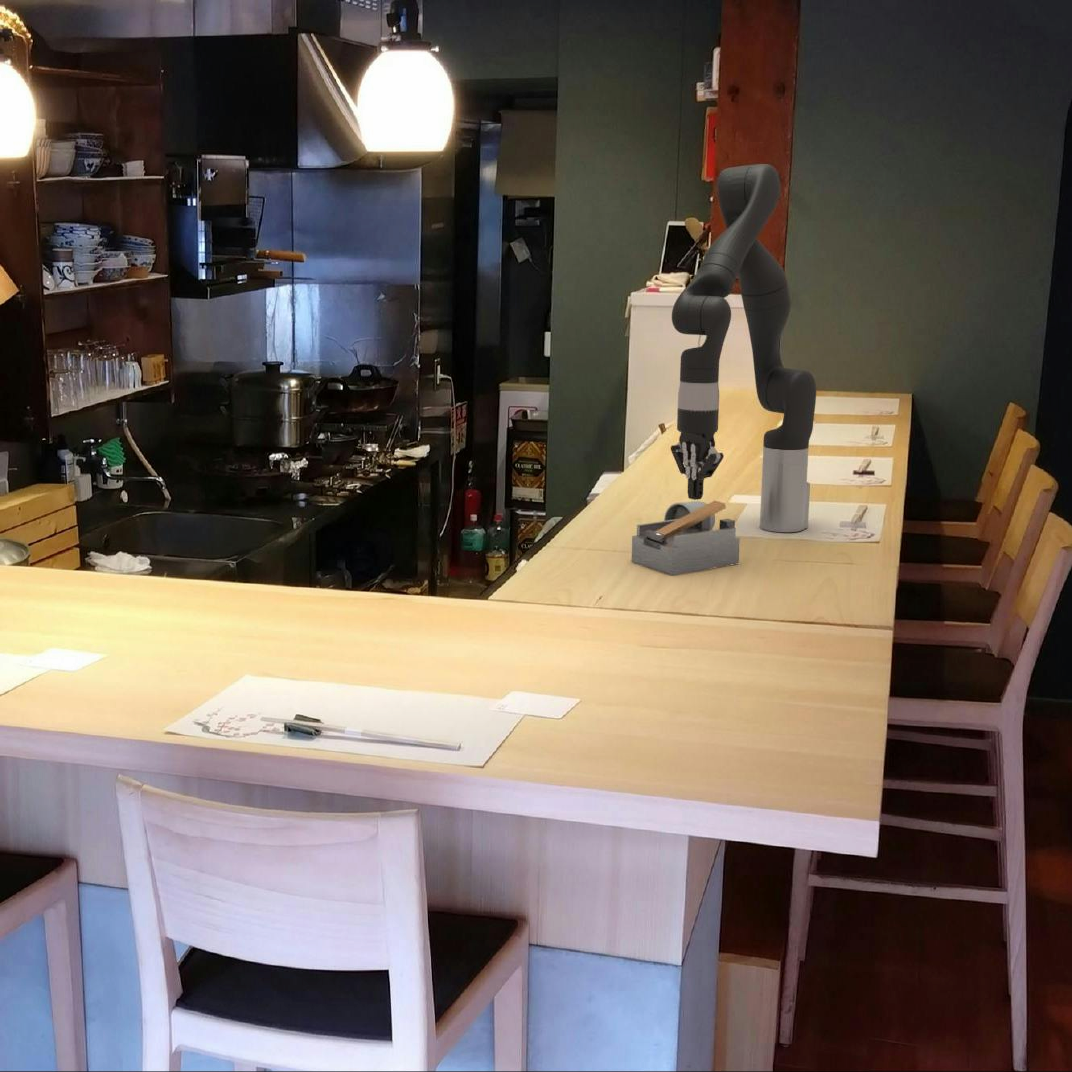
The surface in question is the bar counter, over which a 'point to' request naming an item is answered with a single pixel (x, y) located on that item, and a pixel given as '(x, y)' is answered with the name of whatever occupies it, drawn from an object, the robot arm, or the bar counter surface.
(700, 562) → the block
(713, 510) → the strap
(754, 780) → the bar counter surface
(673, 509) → the ceramic mug
